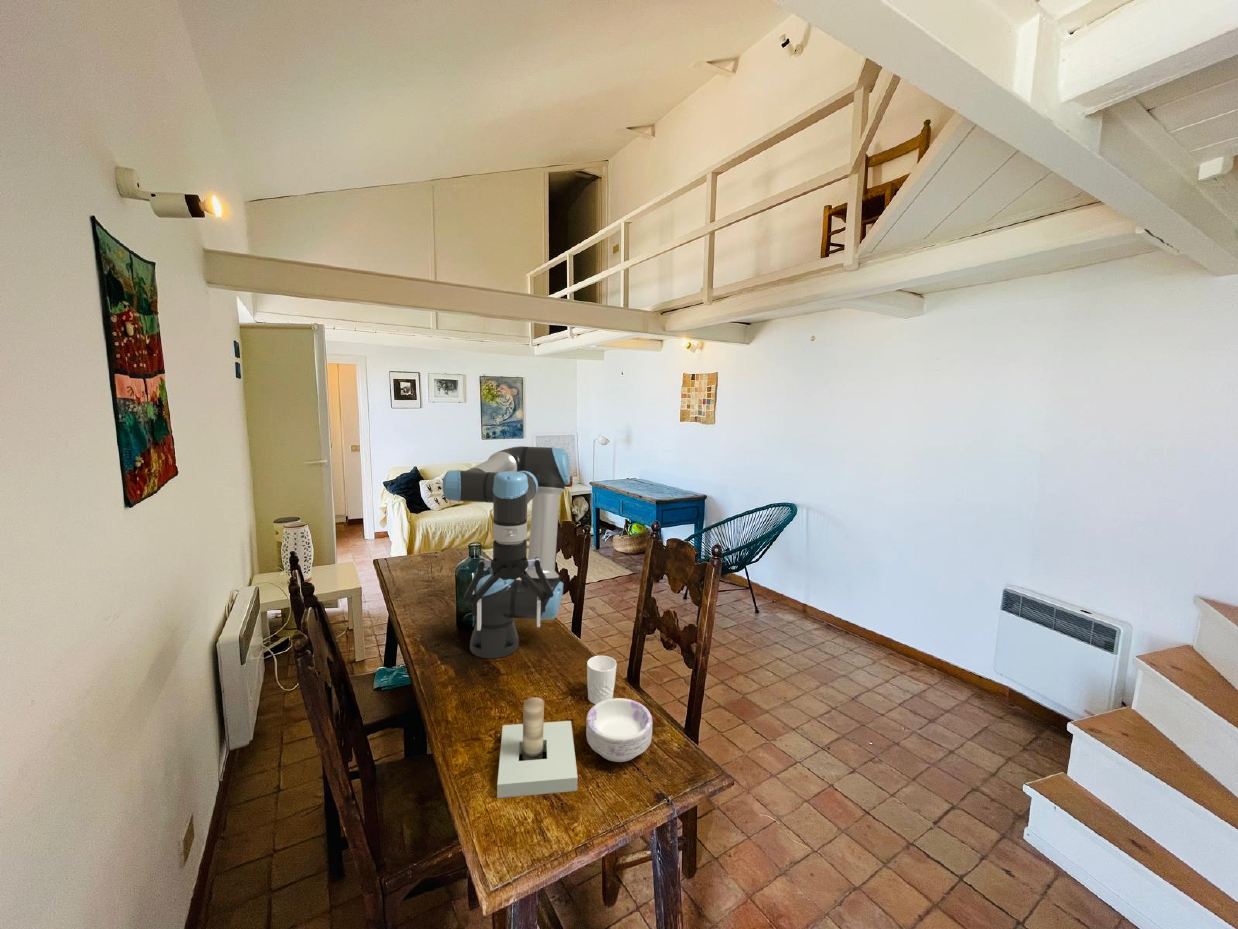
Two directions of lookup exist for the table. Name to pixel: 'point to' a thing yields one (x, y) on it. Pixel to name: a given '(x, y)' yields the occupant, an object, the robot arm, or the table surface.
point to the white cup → (600, 678)
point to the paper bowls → (619, 729)
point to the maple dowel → (533, 729)
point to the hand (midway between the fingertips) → (509, 626)
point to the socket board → (537, 762)
